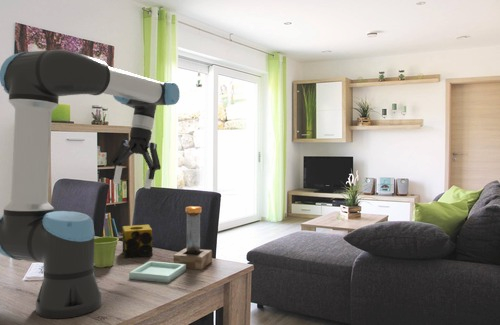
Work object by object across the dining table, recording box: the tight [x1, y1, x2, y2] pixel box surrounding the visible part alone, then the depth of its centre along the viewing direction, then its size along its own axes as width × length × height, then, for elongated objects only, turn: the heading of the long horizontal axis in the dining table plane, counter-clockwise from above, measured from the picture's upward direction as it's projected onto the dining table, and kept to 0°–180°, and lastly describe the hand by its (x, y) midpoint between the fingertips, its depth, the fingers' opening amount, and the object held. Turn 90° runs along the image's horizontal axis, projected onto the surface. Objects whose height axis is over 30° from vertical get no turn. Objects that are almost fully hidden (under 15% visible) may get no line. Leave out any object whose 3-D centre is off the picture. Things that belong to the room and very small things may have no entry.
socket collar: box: [173, 247, 213, 270], centre depth 148 cm, size 10×10×4 cm
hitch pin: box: [185, 205, 203, 255], centre depth 148 cm, size 5×5×20 cm
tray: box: [128, 260, 187, 283], centre depth 136 cm, size 13×13×2 cm
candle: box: [122, 224, 154, 259], centre depth 161 cm, size 10×10×10 cm
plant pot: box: [94, 236, 120, 268], centre depth 145 cm, size 9×9×9 cm
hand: (131, 186), depth 156 cm, fingers open, 13 cm apart
